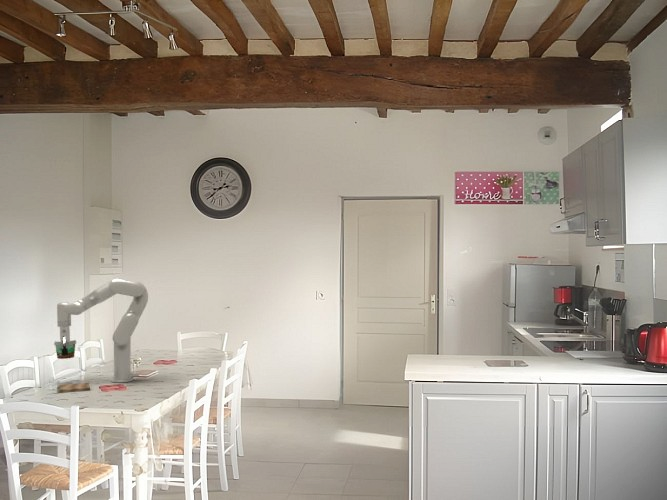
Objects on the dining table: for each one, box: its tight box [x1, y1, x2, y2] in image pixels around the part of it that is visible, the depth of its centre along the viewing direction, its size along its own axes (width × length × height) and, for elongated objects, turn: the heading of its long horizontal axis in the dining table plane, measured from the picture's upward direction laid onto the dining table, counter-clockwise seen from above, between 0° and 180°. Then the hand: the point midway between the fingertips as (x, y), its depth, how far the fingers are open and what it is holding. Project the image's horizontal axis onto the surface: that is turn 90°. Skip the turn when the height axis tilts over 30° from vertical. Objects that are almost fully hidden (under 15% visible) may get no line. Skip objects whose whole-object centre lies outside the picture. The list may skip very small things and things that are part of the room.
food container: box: [53, 339, 77, 360], centre depth 409 cm, size 12×6×10 cm, turn 107°
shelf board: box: [56, 381, 91, 394], centre depth 393 cm, size 17×16×4 cm
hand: (64, 354), depth 409 cm, fingers closed on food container, 5 cm apart
